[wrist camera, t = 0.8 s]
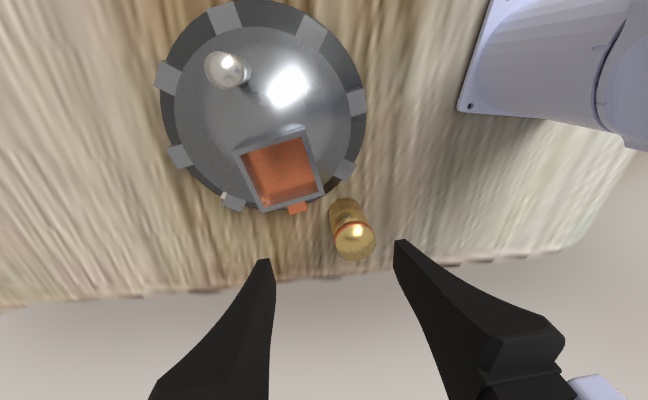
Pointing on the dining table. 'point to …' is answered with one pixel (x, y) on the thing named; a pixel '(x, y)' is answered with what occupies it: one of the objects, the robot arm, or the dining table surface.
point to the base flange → (274, 16)
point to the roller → (351, 230)
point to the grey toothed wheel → (261, 113)
